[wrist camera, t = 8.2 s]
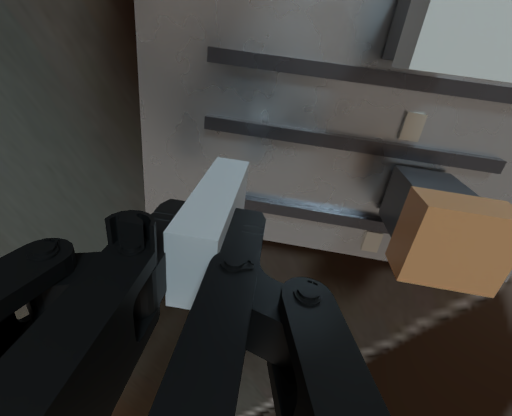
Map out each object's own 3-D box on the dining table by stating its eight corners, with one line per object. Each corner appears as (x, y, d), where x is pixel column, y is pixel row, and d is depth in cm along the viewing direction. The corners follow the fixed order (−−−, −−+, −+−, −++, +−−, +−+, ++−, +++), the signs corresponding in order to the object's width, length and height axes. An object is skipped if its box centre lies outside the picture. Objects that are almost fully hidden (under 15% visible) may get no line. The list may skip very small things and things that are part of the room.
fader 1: (369, 64, 15) (408, 68, 9) (393, -27, 13) (457, -85, 8) (453, 76, 14) (542, 87, 9) (489, -16, 13) (623, -68, 7)
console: (158, 206, 23) (141, 223, 20) (147, -128, 14) (118, -163, 12) (489, 263, 21) (512, 288, 19) (688, -74, 13) (773, -102, 11)
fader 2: (368, 215, 18) (396, 280, 13) (387, 158, 17) (428, 206, 11) (436, 226, 18) (493, 298, 13) (462, 169, 16) (540, 224, 11)
